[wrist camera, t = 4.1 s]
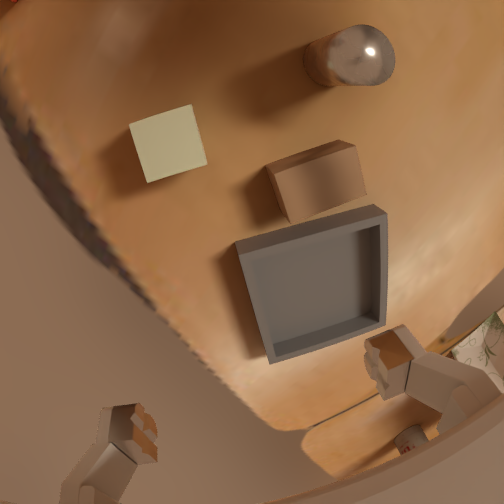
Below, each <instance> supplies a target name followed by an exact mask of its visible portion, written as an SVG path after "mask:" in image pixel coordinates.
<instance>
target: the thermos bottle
mask: <svg viewBox="0 0 504 504" xmlns="http://www.w3.org/2000/svg"><path fill="white" fill-rule="evenodd" d="M428 441H429V440H428V439H427V437H426V435H425V433H424V432H423V430H422V428H421V427H420V425H415V426H412V427H410V428H408V429H406V430H404V431H403V432H402V433H400V434H399V435H398V436H397V437H396V438H395V440H394V443H395V445H396V447H397V449H398V450H399V452H400V454H401V455H402V454H404V453H406V452H408V451H410V450H412V449H414V448H416V447H418V446H420V445H422V444H424V443H426V442H428Z"/></svg>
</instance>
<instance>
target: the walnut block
mask: <svg viewBox="0 0 504 504" xmlns="http://www.w3.org/2000/svg"><path fill="white" fill-rule="evenodd" d="M265 167H266V170H267V172H268V175H269V178H270V181H271V184H272V187H273V190H274V193H275V196H276V199H277V201H278V204H279V207H280V210H281V212H282V213H283V214H284V216H285V217H286V218H287V220H288V221H289V222H290V224H292V223H295V222H297V221H300V220H302V219H305V218H308V217H310V216H313V215H315V214H318V213H320V212H323V211H326V210H328V209H331V208H333V207H336V206H338V205H341V204H344V203H346V202H349V201H351V200H354V199H357V198H359V197H362V196H364V195H367V194H366V189H365V185H364V180H363V175H362V170H361V166H360V161H359V157H358V153H357V149H356V146H355V145H353V144H350V143H347V142H344V141H341V140H336V141H333V142H330V143H327V144H324V145H321V146H318V147H315V148H312V149H309V150H306V151H303V152H300V153H297V154H294V155H292V156H289V157H286V158H283V159H280V160H278V161H275V162H272V163H270V164H267V165H265Z"/></svg>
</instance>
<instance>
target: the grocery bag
mask: <svg viewBox="0 0 504 504" xmlns="http://www.w3.org/2000/svg"><path fill="white" fill-rule="evenodd" d="M451 351H452V354H453V357H454V360H456V361H459V362H462V363H464V364H467V365H470V366H473V367H476V368H479V369H481V370H484V371H485V373H486V374H487V375H488V376H489V378H490V379H491V380H492V381H493V382H494V384H495V385H496V386H497V387H498V389H499V390H500V391H501V393H502V394H503V393H504V324H503V323H502V321H501V320H500V318H499V316H498V315H497V313H496V312H495V311H494V312H493V313H492V315H491V316H490V317H489V318H488V319H487V320H486V321H485V322H484V323H483V324H482V325H481V326H480V327H479V328H477V329H476V330H475V331H474V332H473V333H472V334H471V335H469V336H468V337H467V338H466V339H465V340H463V341H462V342H461V343H460V344H459V345H457V346H456V347H455V348H454V349H452V350H451Z"/></svg>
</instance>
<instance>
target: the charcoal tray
mask: <svg viewBox="0 0 504 504" xmlns="http://www.w3.org/2000/svg"><path fill="white" fill-rule="evenodd" d="M235 245H236V249H237V252H238V256H239V259H240V263H241V267H242V270H243V274H244V277H245V281H246V284H247V288H248V291H249V295H250V298H251V302H252V306H253V309H254V313H255V316H256V320H257V323H258V327H259V330H260V334H261V337H262V340H263V344H264V347H265V351H266V354H267V358H268V361H269V364H273V363H277V362H280V361H284V360H287V359H290V358H293V357H297V356H300V355H303V354H306V353H309V352H312V351H316V350H319V349H322V348H325V347H328V346H330V345H333V344H336V343H339V342H342V341H345V340H348V339H350V338H353V337H356V336H359V335H361V334H364V333H367V332H369V331H372V330H375V329H377V328H380V327H382V326H385V325H386V311H387V288H388V219H387V213H386V212H384V211H383V210H382V209H380V208H379V207H377V206H376V205H374V204H372V205H368V206H364V207H361V208H357V209H353V210H349V211H346V212H342V213H338V214H334V215H331V216H327V217H323V218H320V219H316V220H312V221H309V222H305V223H301V224H298V225H294V226H290V227H287V228H283V229H279V230H276V231H272V232H268V233H265V234H261V235H258V236H254V237H250V238H247V239H243V240H240V241H236V242H235Z"/></svg>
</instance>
